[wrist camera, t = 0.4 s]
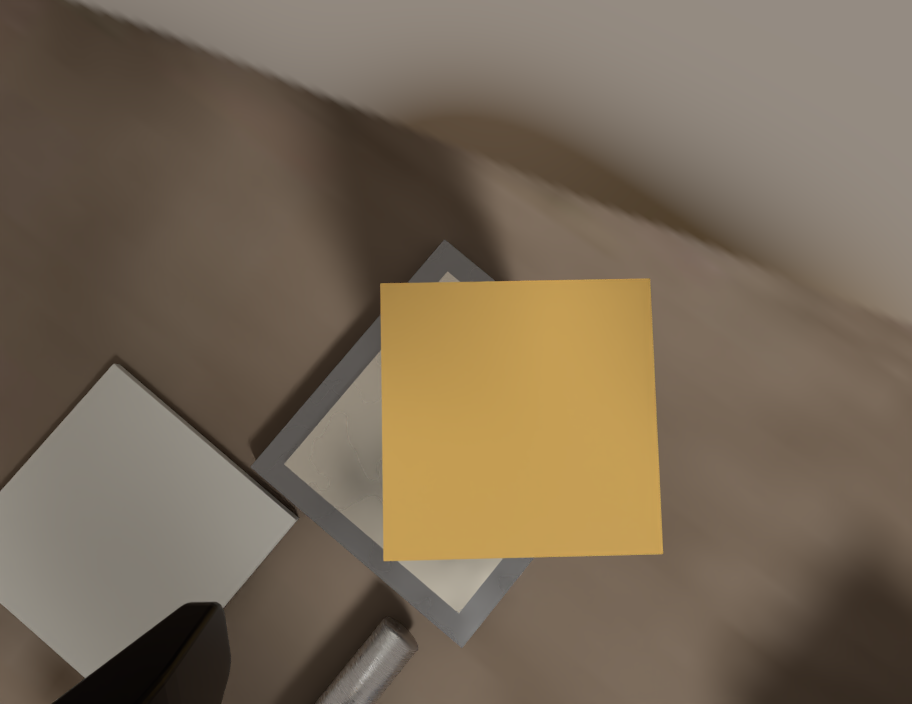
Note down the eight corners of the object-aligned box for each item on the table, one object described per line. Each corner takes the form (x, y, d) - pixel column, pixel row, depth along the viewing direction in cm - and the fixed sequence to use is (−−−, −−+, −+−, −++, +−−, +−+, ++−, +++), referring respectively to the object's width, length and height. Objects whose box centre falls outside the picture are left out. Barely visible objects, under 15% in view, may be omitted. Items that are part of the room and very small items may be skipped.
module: (542, 467, 22) (662, 554, 10) (418, 470, 21) (383, 561, 10) (539, 344, 22) (649, 278, 10) (416, 346, 22) (380, 283, 10)
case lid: (136, 712, 22) (130, 717, 21) (-47, 551, 22) (-56, 553, 22) (298, 518, 22) (296, 520, 22) (119, 364, 23) (113, 363, 22)
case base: (461, 638, 22) (461, 650, 21) (257, 464, 22) (248, 467, 21) (644, 409, 23) (653, 410, 22) (444, 244, 23) (444, 237, 22)
